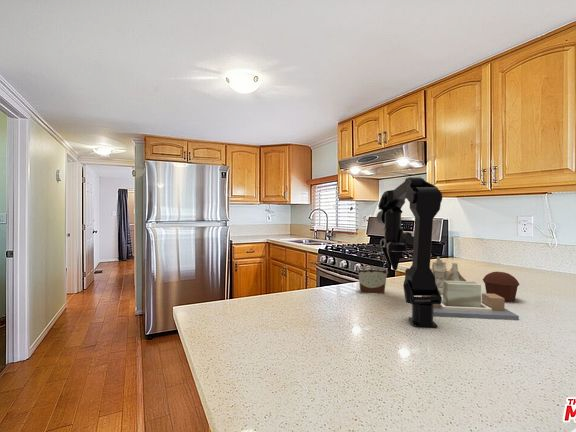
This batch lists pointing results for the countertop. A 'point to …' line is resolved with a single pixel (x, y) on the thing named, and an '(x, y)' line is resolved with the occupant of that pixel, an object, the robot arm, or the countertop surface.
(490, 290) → the muffin
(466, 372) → the countertop surface
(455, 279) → the sandcastle
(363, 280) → the food container
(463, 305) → the sage block
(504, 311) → the board
